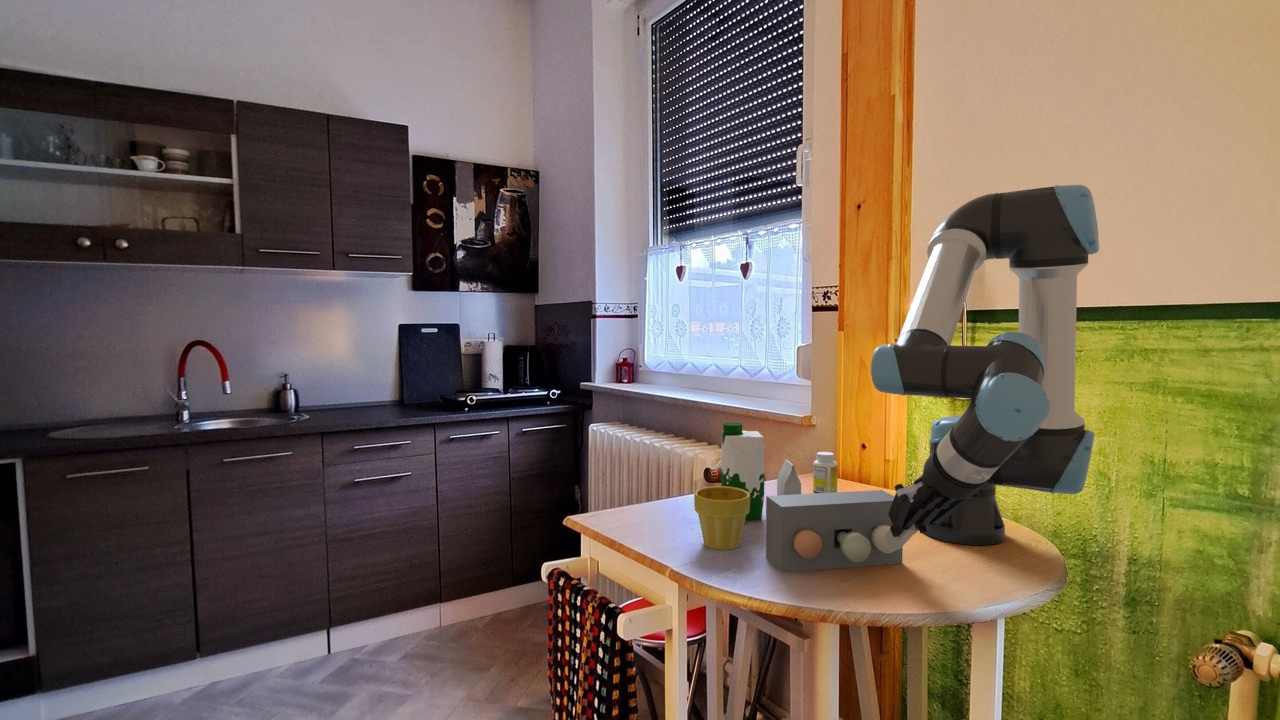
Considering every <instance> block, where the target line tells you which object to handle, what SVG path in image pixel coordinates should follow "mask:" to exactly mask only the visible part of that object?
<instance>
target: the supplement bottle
mask: <svg viewBox="0 0 1280 720" xmlns="http://www.w3.org/2000/svg"><path fill="white" fill-rule="evenodd" d="M812 466H813V469H812V471H813V475H812V476H813V479H812V480H813V482H812V485H813V489H812V490H813V491H812V492H813V493H812V494H814V493H833V492H838V462H837V461H836V460H835V454H834V453H833V452H830V451H818V452H817V453H816V459H815V460H814V461H813V465H812Z"/></svg>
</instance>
